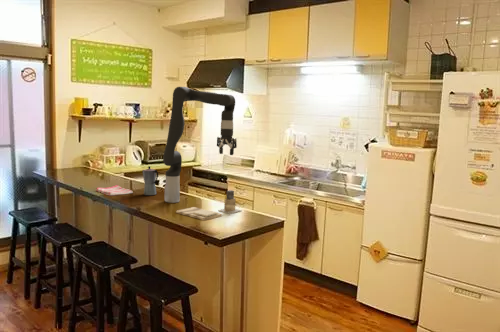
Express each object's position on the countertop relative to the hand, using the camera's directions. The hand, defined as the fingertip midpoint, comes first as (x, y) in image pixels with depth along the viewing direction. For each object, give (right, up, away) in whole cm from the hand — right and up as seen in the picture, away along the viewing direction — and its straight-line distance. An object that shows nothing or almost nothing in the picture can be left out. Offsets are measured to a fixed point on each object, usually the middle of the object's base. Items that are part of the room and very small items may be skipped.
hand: (226, 154), depth 256 cm
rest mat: (+2, -35, -1) cm, 35 cm away
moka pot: (-56, -28, +40) cm, 74 cm away
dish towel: (-83, -27, +45) cm, 98 cm away
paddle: (+2, -34, -1) cm, 34 cm away
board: (-16, -35, -11) cm, 40 cm away
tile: (-11, -34, -15) cm, 38 cm away
